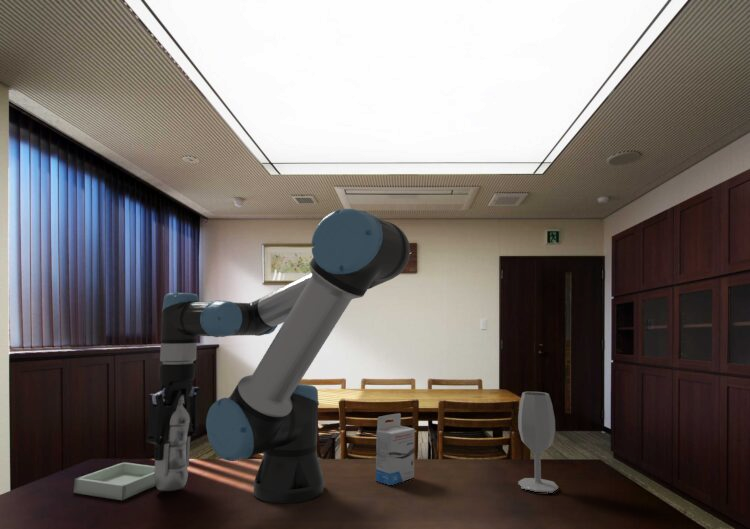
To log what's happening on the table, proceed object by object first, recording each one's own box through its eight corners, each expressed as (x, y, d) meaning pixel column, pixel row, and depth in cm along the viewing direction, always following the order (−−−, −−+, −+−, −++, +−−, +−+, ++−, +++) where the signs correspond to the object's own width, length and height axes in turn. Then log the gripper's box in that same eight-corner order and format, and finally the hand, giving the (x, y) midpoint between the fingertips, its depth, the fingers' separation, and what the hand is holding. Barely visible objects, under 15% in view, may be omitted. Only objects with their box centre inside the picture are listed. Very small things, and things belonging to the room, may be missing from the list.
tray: (167, 480, 110) (167, 467, 110) (121, 500, 98) (122, 486, 98) (122, 474, 114) (123, 462, 114) (73, 492, 102) (74, 478, 102)
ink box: (390, 487, 108) (390, 420, 109) (374, 481, 111) (375, 416, 113) (415, 479, 114) (415, 415, 115) (399, 474, 117) (400, 412, 119)
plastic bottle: (175, 496, 99) (180, 397, 102) (147, 493, 100) (152, 396, 103) (193, 485, 105) (197, 393, 108) (166, 483, 107) (171, 392, 109)
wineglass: (516, 491, 106) (514, 394, 108) (520, 479, 114) (518, 389, 116) (558, 497, 103) (555, 397, 105) (559, 484, 111) (556, 392, 113)
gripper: (192, 359, 116) (187, 457, 114) (130, 365, 99) (123, 482, 96) (218, 359, 114) (213, 460, 111) (160, 366, 96) (153, 486, 93)
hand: (172, 470), depth 104 cm, fingers closed on plastic bottle, 6 cm apart
